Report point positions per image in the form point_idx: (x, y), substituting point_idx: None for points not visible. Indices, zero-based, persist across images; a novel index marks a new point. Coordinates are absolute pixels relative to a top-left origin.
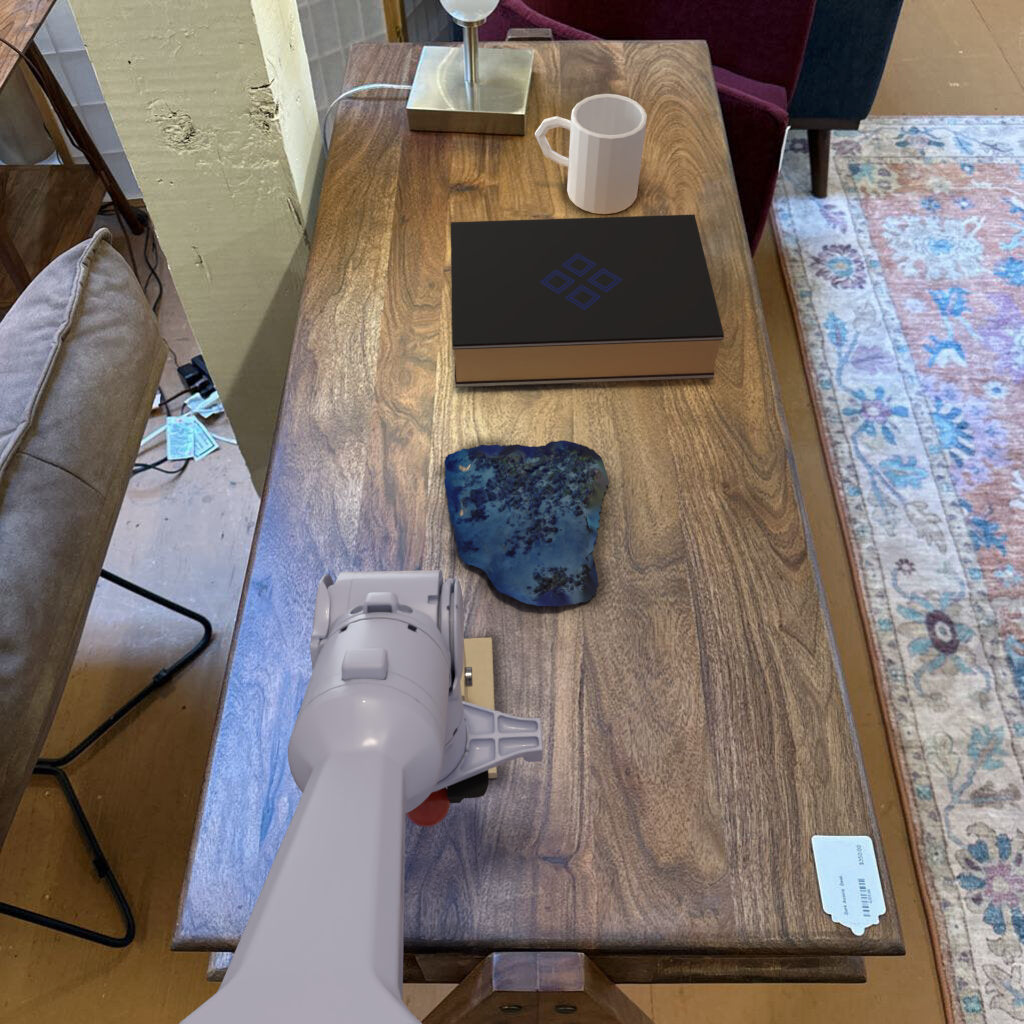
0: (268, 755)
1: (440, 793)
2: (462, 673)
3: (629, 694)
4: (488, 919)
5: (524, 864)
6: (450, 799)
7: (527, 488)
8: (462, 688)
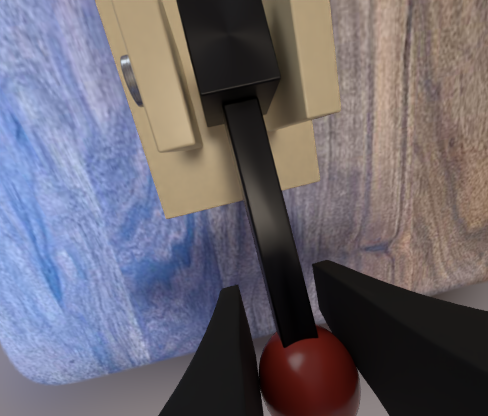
0: (8, 206)
1: (357, 401)
2: (330, 42)
3: (465, 35)
4: (318, 310)
5: (347, 258)
6: (362, 375)
7: None
8: (334, 90)
